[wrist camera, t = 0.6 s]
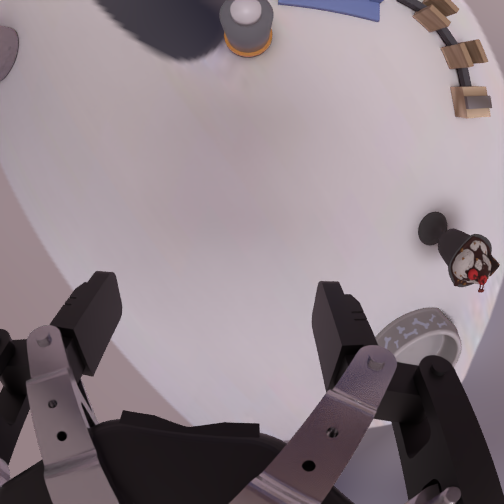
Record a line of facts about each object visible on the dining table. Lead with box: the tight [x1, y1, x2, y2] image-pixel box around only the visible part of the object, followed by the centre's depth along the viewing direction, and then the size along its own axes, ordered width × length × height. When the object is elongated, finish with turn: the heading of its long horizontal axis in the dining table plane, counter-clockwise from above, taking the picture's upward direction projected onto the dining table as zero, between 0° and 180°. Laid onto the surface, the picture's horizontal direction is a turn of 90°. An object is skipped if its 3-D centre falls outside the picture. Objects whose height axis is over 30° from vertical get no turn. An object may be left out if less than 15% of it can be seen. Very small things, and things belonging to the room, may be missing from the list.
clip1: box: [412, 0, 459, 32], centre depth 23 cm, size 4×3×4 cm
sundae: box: [419, 212, 499, 292], centre depth 31 cm, size 7×7×15 cm
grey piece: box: [219, 0, 273, 57], centre depth 23 cm, size 5×5×11 cm
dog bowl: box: [375, 308, 461, 367], centre depth 45 cm, size 17×18×5 cm
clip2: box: [441, 39, 488, 69], centre depth 25 cm, size 4×3×4 cm
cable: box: [398, 0, 472, 87], centre depth 26 cm, size 16×4×1 cm, turn 41°
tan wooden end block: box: [450, 86, 492, 118], centre depth 28 cm, size 4×4×3 cm
